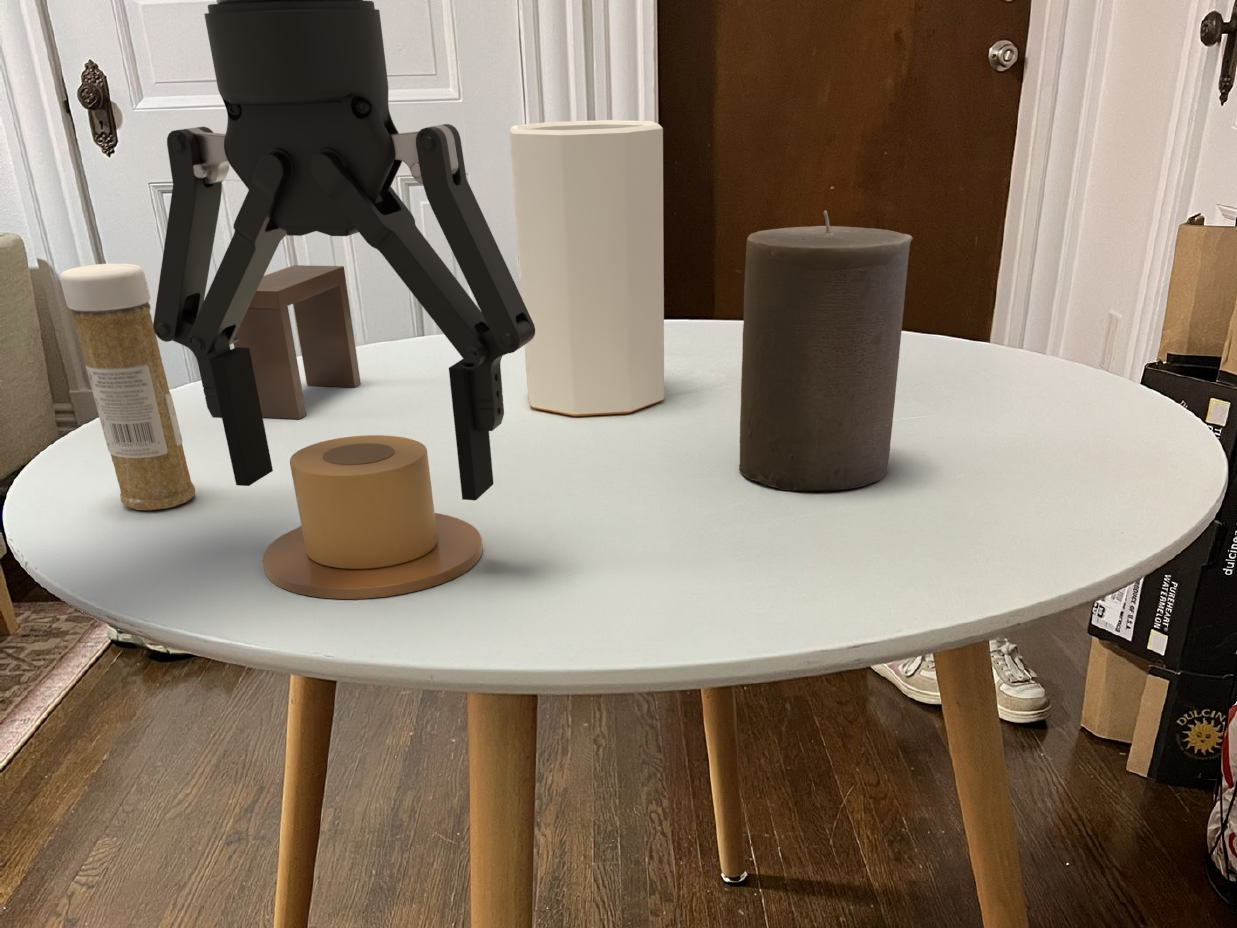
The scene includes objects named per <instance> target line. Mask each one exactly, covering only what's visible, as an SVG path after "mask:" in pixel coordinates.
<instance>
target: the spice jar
mask: <svg viewBox="0 0 1237 928" xmlns="http://www.w3.org/2000/svg"><path fill="white" fill-rule="evenodd" d="M144 271H145V270H144V269H143V268H142V267H141V266H139V265H138V264H133V263H98V264H89V265H83V266H77V267H72V268H69V269H65V270H64V271H62V272H61V273H60V275H59V280H60V284H61V288H62V289H61V290H62V292H63V297H64V301H65V303H66V304H65V305H66V307H67V308H68V309H70V314H71V316H72V318H73V321H74V324H75V328H76V332H77V336H78V340H79V343H80V347H81V351H82V354H83V359H84V366H85V370H86V373H87V377H88V381H89V384H90V388H91V392H92V396H93V399H94V403H95V407H96V410H97V413H98V418H99V421H100V424H101V429H102V432H103V435H104V439H105V443H106V447H107V450H108V453H109V454H110V457H111V461H112V464H113V467H114V472H115V476H116V479H117V483H118V486H119V492H120V496H119V497H120V502H121V503H122V504H123V505H124V506H126V507H127V508H130V509H133V510H138V511H139V510H140V511H155V510H156V511H157V510H166V509H171V508H176V507H177V506H180V505H183V504H186V503H187V502H190V501H191V500H192V498H193V497H194V496H195V493H196V487H195V485H194V483H193V482H192V479H191V475H190V470H189V468H188V467H189V466H188V464H187V457H186V455H185V451H184V446H183V437H182V433H181V429H180V423H179V421H178V417H177V411H176V408H175V403H174V400H173V396H172V393H171V391H170V388H169V384H168V379H167V375H166V371H165V367H164V364H163V360H162V355H161V350H160V346H159V341H158V337H157V335H156V334H155V332H154V329H153V322H154V321H153V318H152V317H153V316H152V314H151V304H150V300H151V294H150V290H149V286H148V282H147V277H146V275H145V272H144Z"/></svg>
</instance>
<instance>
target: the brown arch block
mask: <svg viewBox="0 0 1237 928" xmlns="http://www.w3.org/2000/svg"><path fill="white" fill-rule="evenodd" d="M348 292H349V291H348V285H347V278H346V272H345V266H344V265H301V264H300V265H298V264H297V265H296V264H295V265H294V264H293V265H290V266H287V267H285V268H283V269H282V268H281V269H279V270H276V271H273V272H271V273H267V274H264V276H263V278H262V280H261V282H260V285H259V287H258V289H257V291H256V293H255V295H254V297H253V299H252V301H251V303H250V306H249V308H248V310H247V312H246V314H245V316H244V318H243V320H242V322H241V324H240V327H239V329H238V331H237V333H236V335H235V337H234V339H235V338H237V337H238V338H239V340H238V341H237V342H235V343H233V344H232V345H233V349H234V348H236V347H243V348H249V349H250V354H251V360H252V365H253V370H254V375H255V380H256V386H257V391H258V396H259V401H260V406H261V411H262V417H263V418H264V419H265V418H268V419H285V420H286V419H288V420H301V419H302V418H304V417H307V409H306V404H305V398H304V392H303V386H302V381H301V374H300V368H299V364H298V357H297V351H296V345H295V339H294V336H293V335H294V334H293V327H292V323H291V317H290V316H291V315H290V311H289V306H291V305H292V306H293V311H294V317H295V324H296V328H297V329H296V330H297V335H298V340H299V347H300V353H301V358H302V364H303V365H302V366H303V369H304V370H303V371H304V375H305V376H304V377H305V382H306V386H308V387H309V386H310V387H311V386H312V387H335V388H336V387H337V388H356V387H358V386H360V385H362V382H361V374H360V369H359V368H360V367H359V362H358V355H357V349H356V340H355V334H354V328H353V320H352V314H351V307H350V299H349V293H348Z"/></svg>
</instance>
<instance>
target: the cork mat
mask: <svg viewBox="0 0 1237 928" xmlns="http://www.w3.org/2000/svg"><path fill="white" fill-rule="evenodd" d="M434 513H435V521H436V530H437V538H438V540H437V544H436V546H435V547H434V548H433V549H432V550H431V551H430V552H428V553H427V554H425V555H423V556H421V557H419V558H416V559H414V560H411V561H408V562H405V563H401V564H397V565H392V566H387V567H380V568H370V569H344V568H335V567H330V566H326V565H322V564H319V563H317V562H315V561H313V560H312V559H310V558H309V556H308V555H307V553H306V548H305V543H304V537H303V532H302V526H301V525H300V526H299V527H296V528H293V529H291V530H289V531H287V532H286V533H284V534H281V536H279V537H277V538H275V539H274V540H273V541H271V543H269V545H267V547H266V548H265V550H264V552H263V554H262V564H263V565H262V566H263V569H264V573H265V576H266V577H267V579H268V580H269V581H271V583H273V584H274V585H276V586H277V587H279V588H281V589H282V590H286V591H288V592H292V593H294V594H298V595H301V596H308V597H314V598H323V599H337V600H361V599H362V600H363V599H375V598H386V597H392V596H398V595H404V594H405V595H406V594H409V593H415V592H418V591H423V590H426V589H429V588H433V587H436V586H438V585H441V584H445V583H446V582H449V581H451V580H454V579H456V578H457V577H460V576H461V575H463V574H465V573H466V572H468V571H470V570H471V569H472V568H473V567H474V566H475V565H477V563H478V562H479V560H480V559H481V557H482V554H483V538H482V536H481V535H482V534H481V533H480V532H479V530H478V529H477V528H476V527H475V526H473V524H471V523H469V522H467V521H465V520H462V519H460V518H458V517H454V516H451V515H447V514H444V513H443V514H442V513H437V512H434Z"/></svg>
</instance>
